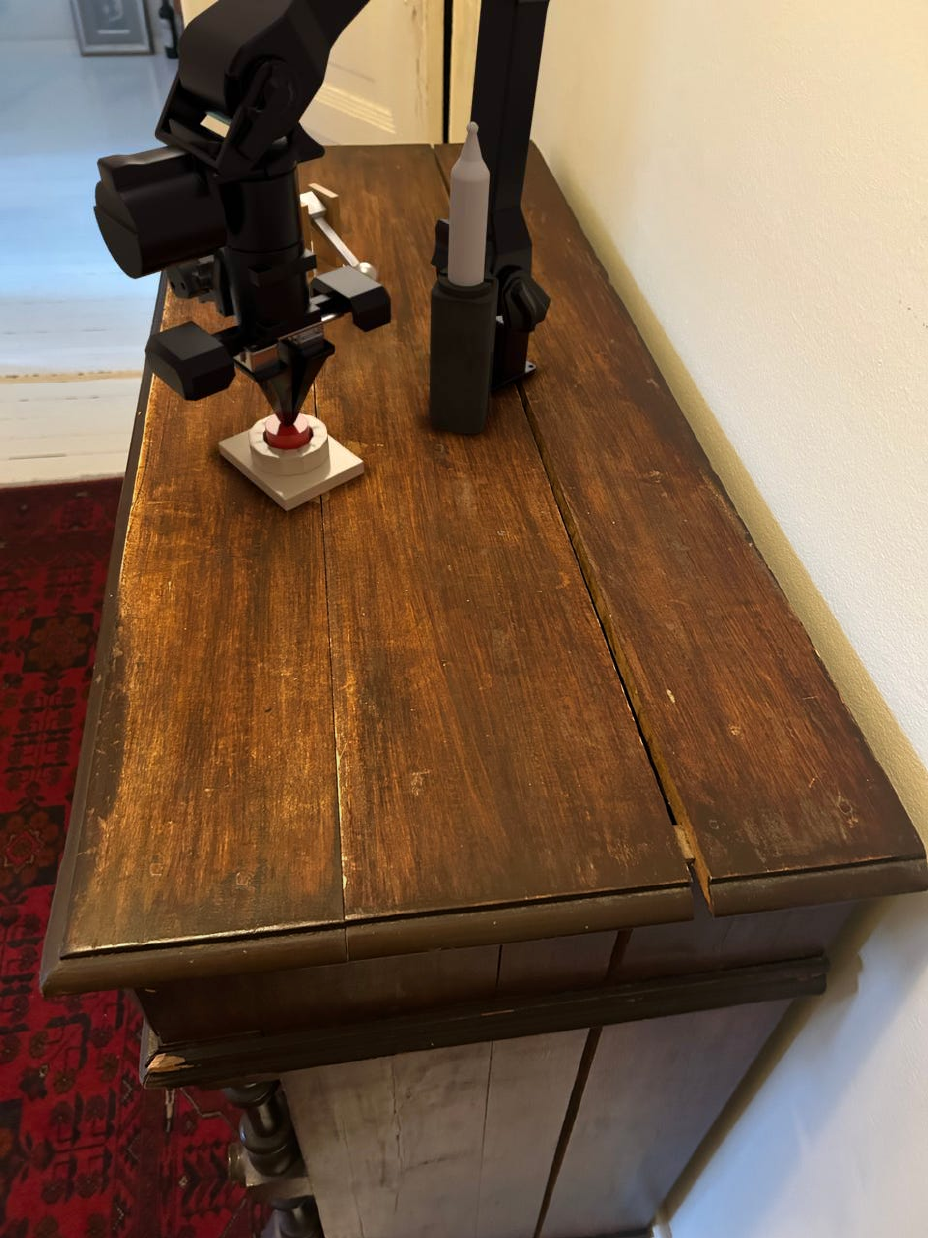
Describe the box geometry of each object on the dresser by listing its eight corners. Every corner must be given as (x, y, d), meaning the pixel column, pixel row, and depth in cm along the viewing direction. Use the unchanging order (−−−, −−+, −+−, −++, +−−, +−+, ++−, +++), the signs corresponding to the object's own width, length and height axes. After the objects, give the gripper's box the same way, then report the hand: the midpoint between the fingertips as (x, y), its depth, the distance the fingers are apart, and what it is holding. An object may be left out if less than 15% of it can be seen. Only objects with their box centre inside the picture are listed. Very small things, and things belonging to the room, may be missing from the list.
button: (319, 442, 73) (317, 425, 72) (283, 459, 72) (281, 441, 70) (294, 423, 75) (292, 405, 74) (258, 438, 73) (256, 421, 72)
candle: (481, 436, 79) (501, 138, 60) (426, 427, 79) (429, 129, 61) (491, 405, 82) (513, 114, 64) (438, 397, 83) (445, 106, 64)
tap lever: (381, 295, 94) (388, 273, 91) (357, 304, 92) (363, 282, 89) (311, 210, 96) (316, 186, 93) (287, 218, 94) (291, 193, 91)
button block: (364, 472, 74) (362, 443, 72) (286, 511, 71) (282, 482, 68) (296, 420, 79) (293, 391, 77) (220, 453, 75) (214, 424, 73)
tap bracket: (369, 280, 98) (366, 200, 92) (311, 302, 94) (304, 220, 88) (317, 249, 103) (310, 170, 96) (259, 268, 99) (249, 188, 92)
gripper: (304, 167, 69) (320, 346, 80) (81, 229, 60) (135, 420, 71) (394, 215, 63) (397, 399, 75) (164, 291, 55) (208, 486, 66)
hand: (287, 422), depth 72 cm, fingers closed, pressing on button
